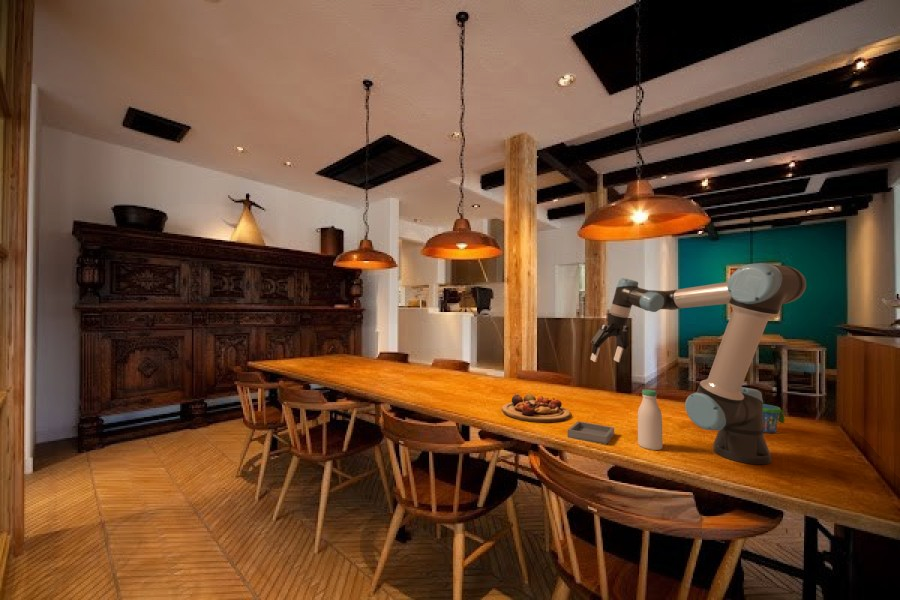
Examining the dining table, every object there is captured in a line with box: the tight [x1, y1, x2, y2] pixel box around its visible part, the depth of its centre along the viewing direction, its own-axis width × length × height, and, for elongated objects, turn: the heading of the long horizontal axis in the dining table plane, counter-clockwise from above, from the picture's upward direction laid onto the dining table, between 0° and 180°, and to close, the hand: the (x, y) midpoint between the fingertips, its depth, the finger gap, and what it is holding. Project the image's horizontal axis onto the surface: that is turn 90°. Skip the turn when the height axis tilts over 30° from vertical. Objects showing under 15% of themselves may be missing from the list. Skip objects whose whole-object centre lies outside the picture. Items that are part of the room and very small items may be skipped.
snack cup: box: [763, 403, 786, 434], centre depth 148 cm, size 16×10×10 cm
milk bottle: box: [637, 388, 664, 451], centre depth 129 cm, size 8×8×20 cm
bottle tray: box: [567, 421, 615, 446], centre depth 139 cm, size 14×14×3 cm
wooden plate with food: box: [501, 393, 571, 423], centre depth 171 cm, size 32×32×8 cm
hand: (604, 360), depth 157 cm, fingers open, 13 cm apart
